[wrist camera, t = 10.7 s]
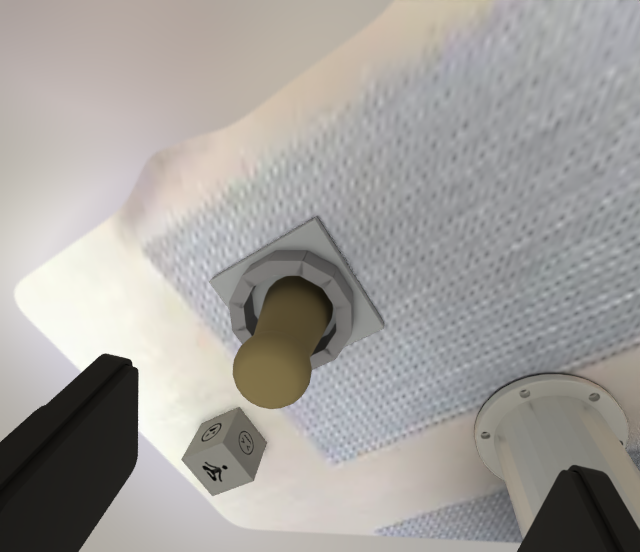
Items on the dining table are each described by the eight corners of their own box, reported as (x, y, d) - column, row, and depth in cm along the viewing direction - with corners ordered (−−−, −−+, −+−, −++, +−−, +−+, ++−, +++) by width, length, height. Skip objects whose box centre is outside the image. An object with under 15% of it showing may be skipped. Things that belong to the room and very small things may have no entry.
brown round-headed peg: (287, 261, 36) (249, 326, 26) (347, 301, 37) (332, 380, 27) (251, 312, 38) (203, 390, 28) (308, 350, 39) (280, 439, 29)
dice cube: (201, 423, 46) (181, 459, 41) (239, 406, 44) (222, 442, 40) (229, 457, 47) (212, 496, 42) (267, 442, 45) (253, 481, 41)
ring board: (384, 322, 38) (383, 343, 35) (281, 371, 42) (272, 394, 38) (316, 216, 35) (309, 228, 32) (213, 277, 39) (197, 293, 36)
